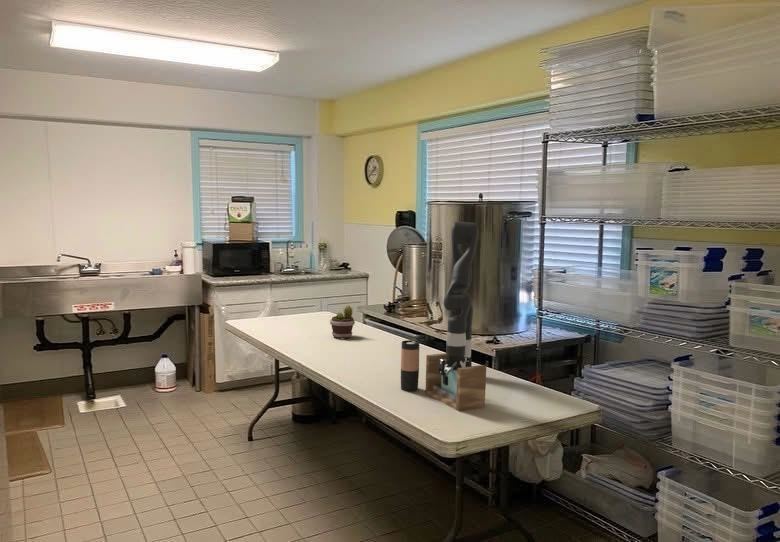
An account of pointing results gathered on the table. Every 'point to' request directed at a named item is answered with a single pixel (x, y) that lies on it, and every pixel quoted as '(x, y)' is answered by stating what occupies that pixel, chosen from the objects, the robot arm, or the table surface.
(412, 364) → the travel mug
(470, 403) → the slotted wooden stand
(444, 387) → the pale teal rectangular block
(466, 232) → the robot arm
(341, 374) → the table surface
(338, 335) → the flowerpot
